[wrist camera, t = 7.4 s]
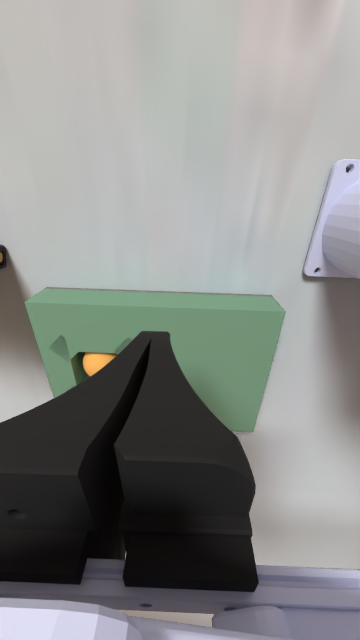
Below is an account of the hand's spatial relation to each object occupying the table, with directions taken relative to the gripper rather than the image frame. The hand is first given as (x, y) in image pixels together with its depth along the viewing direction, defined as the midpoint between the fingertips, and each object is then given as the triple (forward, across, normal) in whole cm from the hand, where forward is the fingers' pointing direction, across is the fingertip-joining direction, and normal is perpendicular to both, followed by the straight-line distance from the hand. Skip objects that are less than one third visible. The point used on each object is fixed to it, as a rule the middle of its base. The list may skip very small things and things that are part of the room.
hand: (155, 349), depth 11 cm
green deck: (+10, +1, +8) cm, 13 cm away
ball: (+8, +6, +7) cm, 13 cm away
